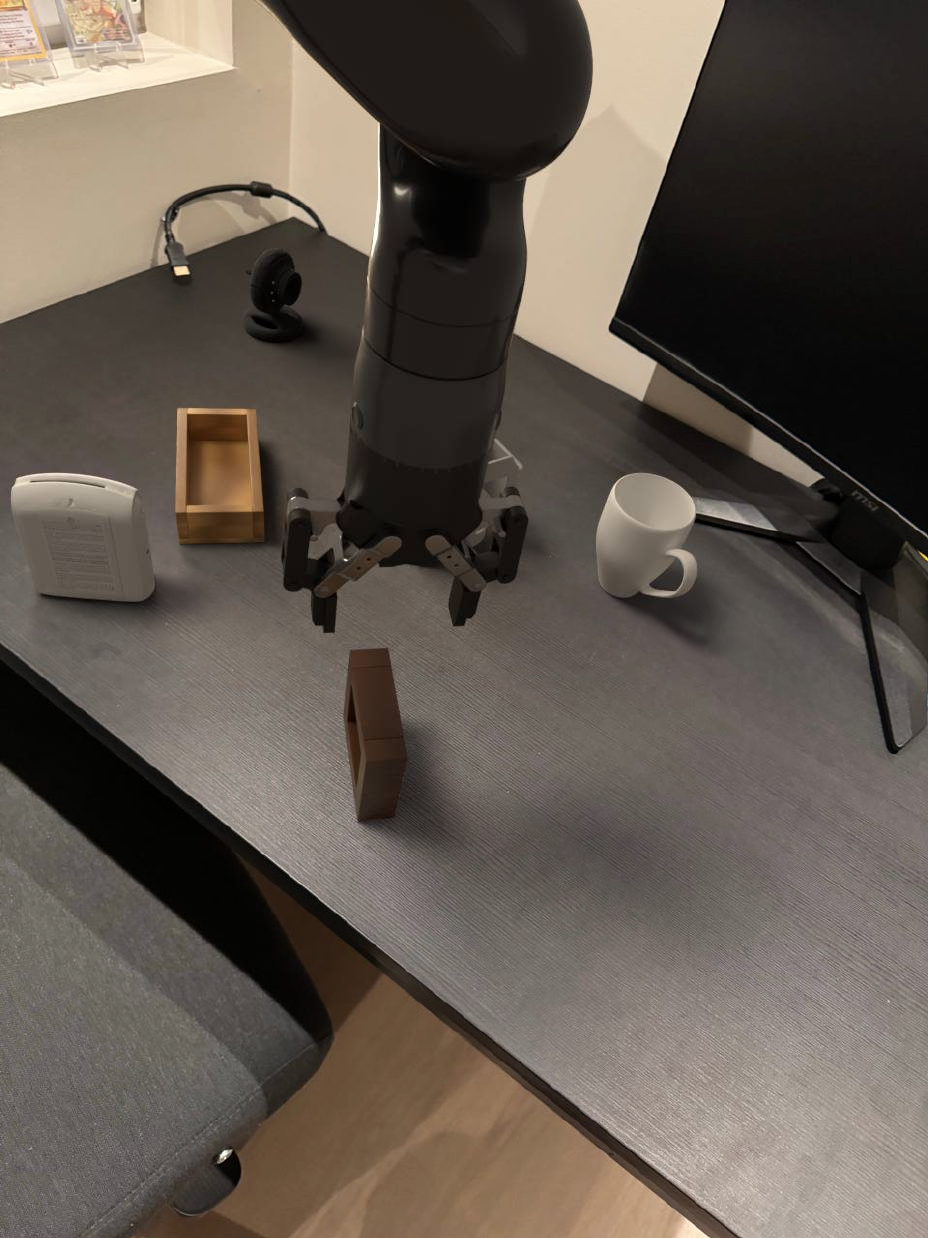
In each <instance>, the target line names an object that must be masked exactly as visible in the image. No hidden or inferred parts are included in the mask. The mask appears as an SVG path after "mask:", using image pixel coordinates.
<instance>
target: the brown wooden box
mask: <svg viewBox="0 0 928 1238" xmlns="http://www.w3.org/2000/svg"><path fill="white" fill-rule="evenodd" d="M390 655H391V654H390V651H389V647H378V648H377V647H376V648H359V649H349V652H348V663H347V675H346V683H345V693H344V704H343V714H342V716H343V723H344V724H343V725H344V732H345V740H346V747H347V754H348V762H349V763H348V764H349V771H350V776H351V785H352V794H353V801H354V808H355V815H356V822H357V823H360V822H369V821H378V820H379V821H380V820H387V819H388V820H389V819H395V818H396V816H397V810H398V806H399V802H400V796H401V791H402V787H403V783H404V778H405V773H406V768H407V765H408V759H409V757H408V751H407V745H406V740H405V733H404V728H403V723H402V716H401V712H400V706H399V700H398V694H397V690H396V683H395V679H394V673H393V668H392V667H393V666H392V662H391V656H390Z"/></svg>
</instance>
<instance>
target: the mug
mask: <svg viewBox="0 0 928 1238" xmlns="http://www.w3.org/2000/svg"><path fill="white" fill-rule="evenodd" d="M696 517H697V508H696V505H695V501H694V500H693V498H692V497H691V495H690V494H689V493H688V492H687V491H686V489H684V487H682V486H681V485H679V484H678V483H676V482H675V481H673V480H671V479H669V478H667V477H664V476H662V475H658V474H654V473H648V472H636V473H630V474H626V475H624V476H622V477H620V478H619V479H618V480H617V481H616V482H615V483H614V484H613V486H612V488H611V490H610V492H609V495H608V497H607V500H606V502H605V506H604V507H603V510H602V513H601V515H600V517H599V520H598V523H597V529H596V535H595V552H596V554H595V555H596V565H597V566H596V567H597V577H598V583H599V585H600V586H601V588H602V589H603V590H604V591H605V592H606V593H608V594H609V595H611V596H613V597H616V598H623V599H625V598H630V597H631V598H632V597H633V596H635V595H636V594H638V593H640V594H643V595H646V596H650V597H656V598H663V599H666V598H667V599H672V598H677V597H681V596H684V595H685V594H687V593H688V592H689V591H690V590H691V589H692V588H693V586H694V585H695V582H696V580H697V577H698V563H697V560H696V557H695V556H694V554H692V553H691V552H689V551H688V550H684V549H682V548H683V546H684V544H685V542H686V541H687V538H688V537H689V534H690V532H691V531H692V528H693V526H694V524H695V520H696ZM676 559H678V560H679V561H680V562H681V564H682V569H683V578H682V581H681V584H680V585H679V587H678V588H677V589H676V590H662V589H657V588H653V587H652V586H651V585H650V584H651V583H652V582H653V581H655V580H656V579H657V578H658V577H659V576H661V575H662V574H663V573H664V572H665V571H667V569H669V567H671V565H672V564H673V563H674V561H675V560H676Z"/></svg>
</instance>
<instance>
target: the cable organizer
mask: <svg viewBox="0 0 928 1238" xmlns="http://www.w3.org/2000/svg"><path fill="white" fill-rule="evenodd" d="M523 468H524V466H523V464H522V463H521V462H520V461H519V460H518V459H517V458H516V457H515V456H514V455H513V454H512V452H510V451H509V450H508V448H507V447H506V446H505V445H504V444H503V443H502V442H501V440H498V439H496V438H494V441H493V445H492V449H491V454H490V458H489V462H488V466H487V471H486V475H485V479H484V483H483V487H482V490H483V491H485V492H486V494H488V496H489V498H499V494H500V492H501V491H502V490H503V489H504V488H506V487H510V486H512V487H516V488H517V489H518V486H519V483H520V479H521V475H522V471H523ZM487 528H490V527H489V524H488V522H486V521H482V522H481V524H480V525H479V527H478V528H477V529H476V530H474V531H473V532H472V533H471V534H470V535H468V536H467V537H466V540H467V541H468V542H469V544H470V545H471V546H472V547H473V548H474V547H475V546H476V545H478V544H480V543H481V542H482V541H483V540H484V538H485V536H486V532H487Z"/></svg>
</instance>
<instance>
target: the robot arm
mask: <svg viewBox="0 0 928 1238" xmlns="http://www.w3.org/2000/svg"><path fill="white" fill-rule="evenodd" d="M254 2H256V3H257V4H258V5H259V6H260V7H261V8H262V9H264V10H265V11H266V12H267V13H268V14H269V15H270V16H271V17H272V18H273V19H274V20H275V21H276V22H278V24H279V25H280V26H281V27H282V28H283V29H284V30H285V31H286V32H287V33H288V34H289V35H290V36H291V38H292V39H293V40H294V41H295V42H296V43H297V44H298V45H299V46H300V48H302V49H303V51H304V52H305V53H307V55H308V56H309V57H311V58H312V60H313V61H314V62H315V63H316V64H318V66H320V68H322V70H324V71H325V73H327V74H328V75H329V76H330V77H331V78H332V79H333V80H334V82H336V83H337V84H338V85H339V86H340V87H341V88H342V89H343V90H344V91H345V92H346V93H347V94H348V95H349V96H350V97H351V98H352V99H354V101H355V102H356V103H357V104H358V105H359V106H360V107H362V109H364V110H365V111H366V112H367V114H369V115H370V116H371V117H372V118H373V119H374V120H375V121H376V122H377V123H378V138H377V139H378V141H377V145H378V147H377V151H378V152H377V175H378V176H377V181H378V182H377V185H378V186H377V203H376V204H377V205H376V212H375V222H374V226H373V234H372V239H371V246H370V251H369V256H368V258H369V259H368V265H367V274H366V275H367V277H366V288H365V289H366V290H365V300H364V311H363V312H364V313H363V322H362V323H363V324H362V330H361V331H362V332H361V338H360V342H359V346H358V347H359V348H358V350H357V355H356V357H355V358H356V359H355V363H354V371H353V378H352V379H353V381H352V392H351V403H350V404H351V405H350V417H349V430H348V431H349V432H348V441H347V455H346V456H347V457H346V466H345V467H346V469H345V480H344V486H343V489H342V490H341V491H340V493H338V496H337V497H336V498H335V499H321V498H320V499H316V498H315V499H314V498H309V493H308V491H306V490H305V489H304V488H301V487H294V488H292V489H289V490H288V491H287V493H286V495H285V507H284V519H283V528H282V529H283V530H282V540H281V550H280V562H281V564H282V565H281V566H282V575H283V576H282V585H283V588H284V590H286V591H287V592H290V593H296V592H299V591H302V590H303V589H306V590H308V591H310V611H311V612H310V613H311V621H312V623H313V624H314V627H322V633H323V634H335V632H336V620H337V609H338V598H339V597H338V591H339V589H341V588H342V587H343V586H344V585H346V584H347V583H348V582H349V581H351V582H354V583H355V582H357V581H359V580H360V579H361V578H362V577H363V576H364V575H365V574H367V573H368V572H369V571H370V570H371V569H373V568H374V567H375V566H376V565H377V564H378V567H379V568H395V567H398V566H404V565H407V566H408V565H409V566H415V567H431V566H432V563H433V562H436V561H439V562H440V563H441V564H442V566H443V567H445V568H446V569H447V571H448V572H449V573H450V574H451V575H452V576H453V579H452V584H451V588H450V592H449V597H448V602H447V603H448V612H449V616H450V620H451V624H452V626H453V627H465V625H466V622H467V619H472V618H473V617H474V616H475V615H476V613H477V609H478V606H479V603H480V598H481V594H482V591H483V590H484V589H486V587H487V584H489V583H491V582H495V581H497V582H498V583H499V584H501V585H506V584H511V583H513V582H514V581H515V580H516V577H517V574H518V569H519V565H520V560H521V556H522V551H523V547H524V542H525V539H526V534H527V530H528V525H529V516H528V514H527V510H526V508H525V505H524V502H523V499H522V497H521V494H520V491H519V489H518V487H517V488H516V487H512V486H510V487H506V488H504V489H503V490H502V491H501V492H500V494H499V498H491V497H485V498H481V496H482V492H483V489H482V487H483V483H484V479H485V475H486V471H487V466H488V462H489V458H490V454H491V449H492V445H493V441H494V439H495V436H496V433H497V431H498V429H499V427H500V425H501V421H502V415H503V412H502V407H503V402H504V398H505V397H504V396H505V392H506V384H507V383H506V382H507V381H506V380H507V367H508V361H509V355H510V350H511V346H512V343H513V337H514V333H515V330H516V325H517V319H518V316H519V311H520V307H521V303H522V299H523V294H524V293H523V292H524V288H525V283H526V277H527V268H528V267H527V266H528V244H527V237H526V231H525V221H524V220H525V219H524V197H525V190H526V185H527V179H528V178H529V177H532V176H534V175H536V174H539V172H542V171H543V170H544V169H546V168H547V167H549V166H550V165H551V164H552V163H554V162H555V161H556V160H557V159H558V158H559V157H560V156H561V155H562V154H563V153H564V152H565V151H566V149H567V148H568V147H569V145H570V144H571V142H572V141H573V140H574V138H575V137H576V135H577V133H578V131H579V129H580V127H581V125H582V123H583V121H584V118H585V115H586V113H587V109H588V106H589V103H590V99H591V93H592V87H593V77H594V59H593V58H594V57H593V56H594V55H593V47H592V41H591V34H590V31H589V26H588V23H587V19H586V17H585V13H584V10H583V9H582V7H581V4H580V2H579V0H254ZM482 521H486V522H488V524H489V527H488V528H489V530H490V532H491V538H490V542H489V543H490V544H489V549H488V552H484V553H480V554H478V553H477V551H476V550H475V549H474V546H473V547H472V546H471V545H470V544H469V542H468V541H467V540H466V537H467V536H468V535H470V534H471V533H472V532H473V531H474V530H476V529H477V528H478V527H479V525H480V524H481V522H482ZM331 524H336V526H337V529H336V530H335V531H334V532H333V534H332V536H331V539H330V541H329V543H328V544H326V546H325V547H324V548H322V549H321V550H320V551H319V552H318V553H317V554H316V555H314V557H312V558H311V557H309V552H310V551H309V550H310V543H311V542H313V543H314V542H317V541H318V540H319V536H321V535H322V534H323V532H324V529H325V528H326V527H327V526H329V525H331Z"/></svg>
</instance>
